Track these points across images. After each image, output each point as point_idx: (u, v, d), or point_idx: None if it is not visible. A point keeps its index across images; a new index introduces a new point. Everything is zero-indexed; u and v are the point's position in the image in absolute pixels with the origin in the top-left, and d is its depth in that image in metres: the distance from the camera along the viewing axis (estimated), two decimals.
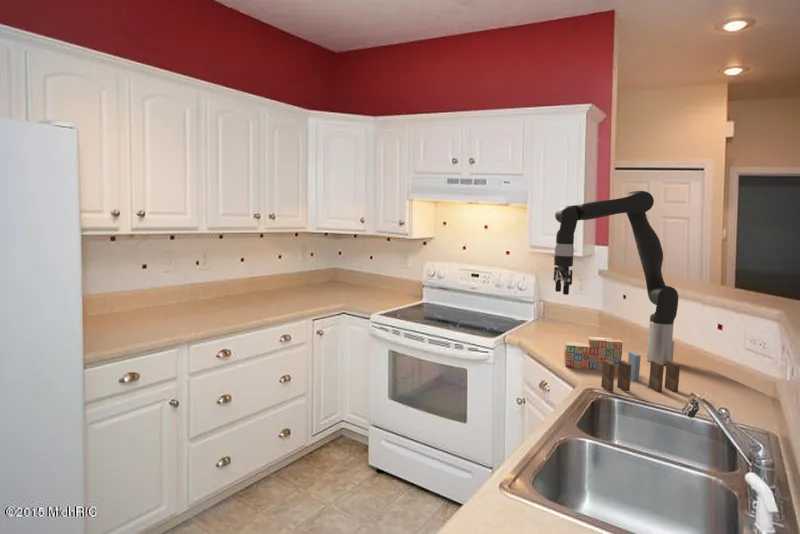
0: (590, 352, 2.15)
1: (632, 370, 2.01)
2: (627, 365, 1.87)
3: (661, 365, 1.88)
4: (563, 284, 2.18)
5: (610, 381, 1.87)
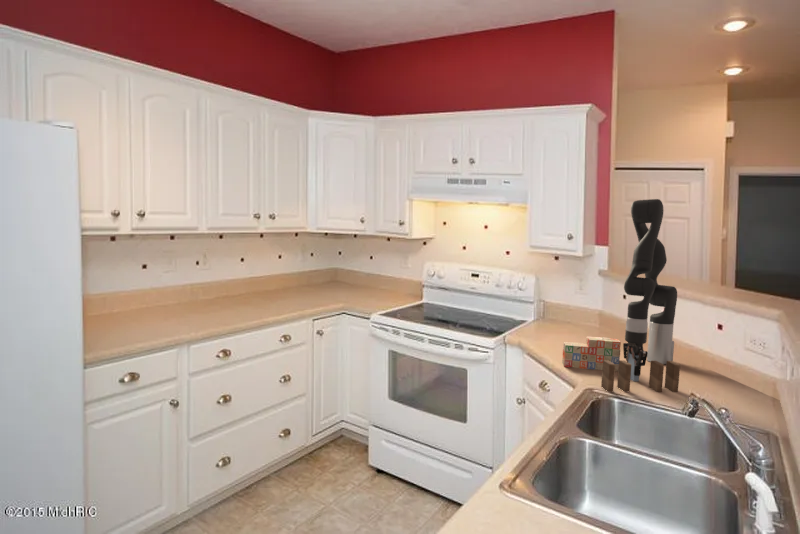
0: (589, 352, 2.15)
1: (632, 370, 2.01)
2: (627, 365, 1.87)
3: (661, 365, 1.88)
4: None
5: (610, 381, 1.87)
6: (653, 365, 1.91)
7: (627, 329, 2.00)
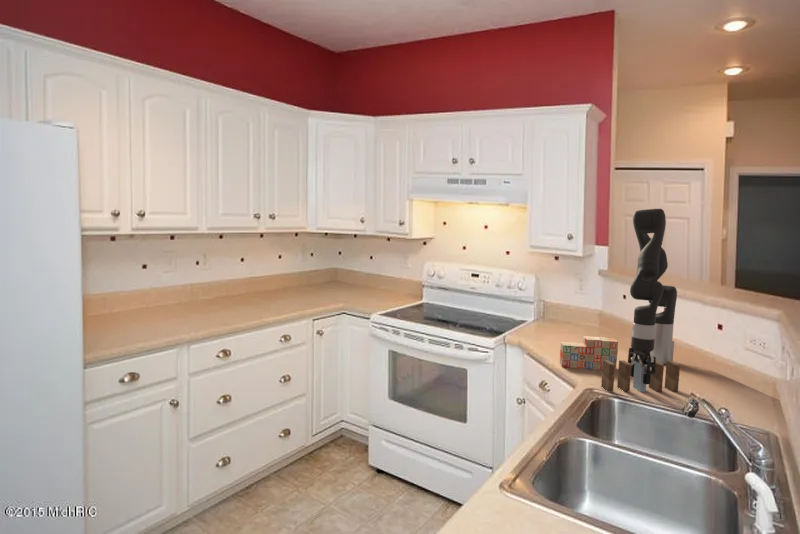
0: (586, 351, 2.15)
1: (638, 380, 1.89)
2: (627, 365, 1.87)
3: (661, 365, 1.88)
4: (644, 372, 1.85)
5: (610, 381, 1.87)
6: None
7: (633, 335, 1.88)
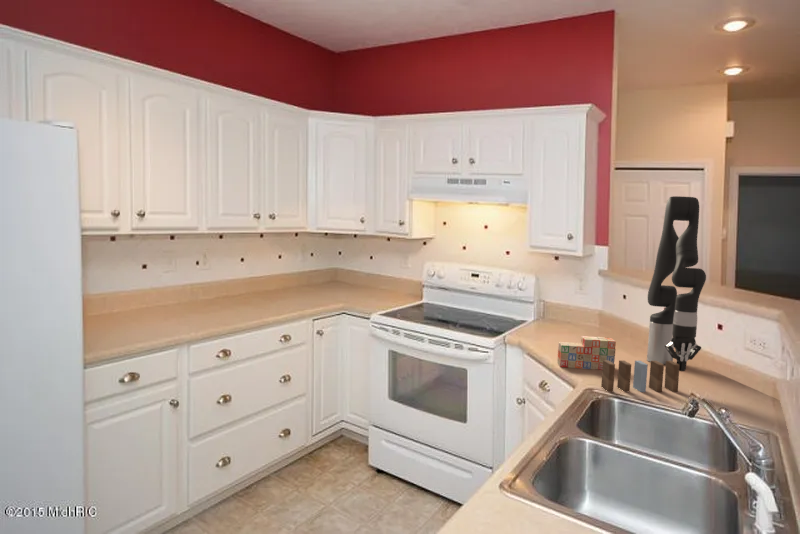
0: (584, 351, 2.15)
1: (638, 380, 1.89)
2: (627, 365, 1.87)
3: (661, 365, 1.88)
4: None
5: (610, 381, 1.87)
6: (653, 365, 1.91)
7: None
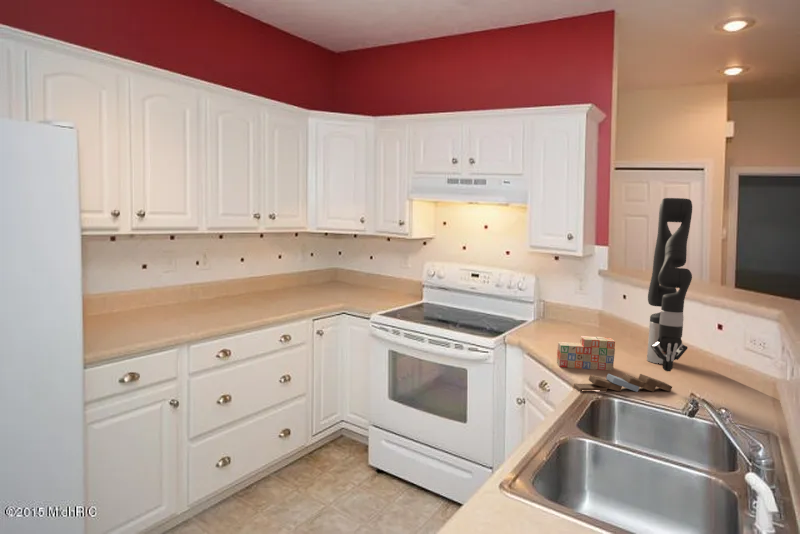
0: (584, 351, 2.15)
1: None
2: (595, 383, 1.87)
3: (630, 380, 1.87)
4: None
5: None
6: None
7: None
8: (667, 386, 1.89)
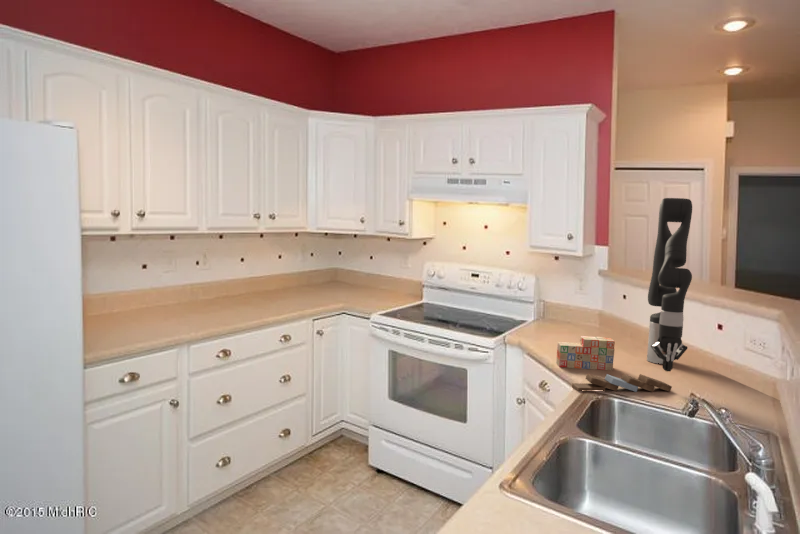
0: (583, 351, 2.15)
1: None
2: (591, 381, 1.88)
3: (629, 380, 1.87)
4: None
5: None
6: None
7: None
8: (667, 386, 1.89)
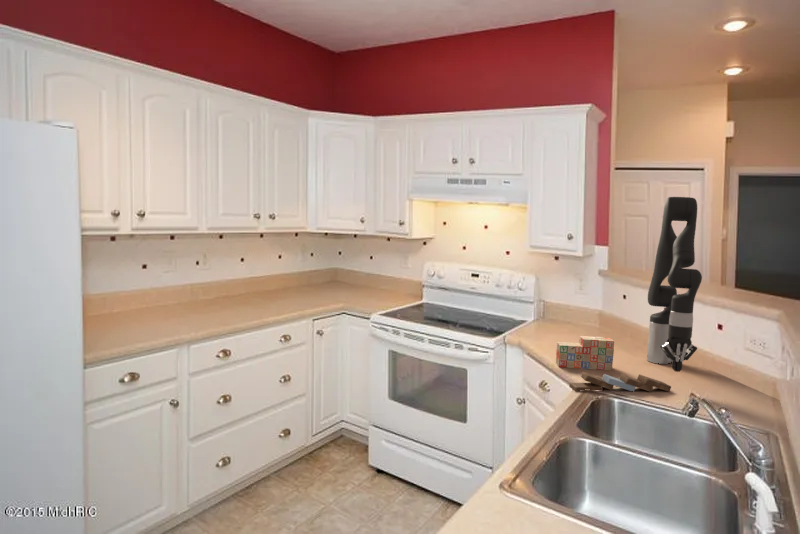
0: (583, 351, 2.15)
1: None
2: (586, 379, 1.89)
3: (627, 380, 1.87)
4: None
5: None
6: (624, 381, 1.90)
7: None
8: (666, 386, 1.89)
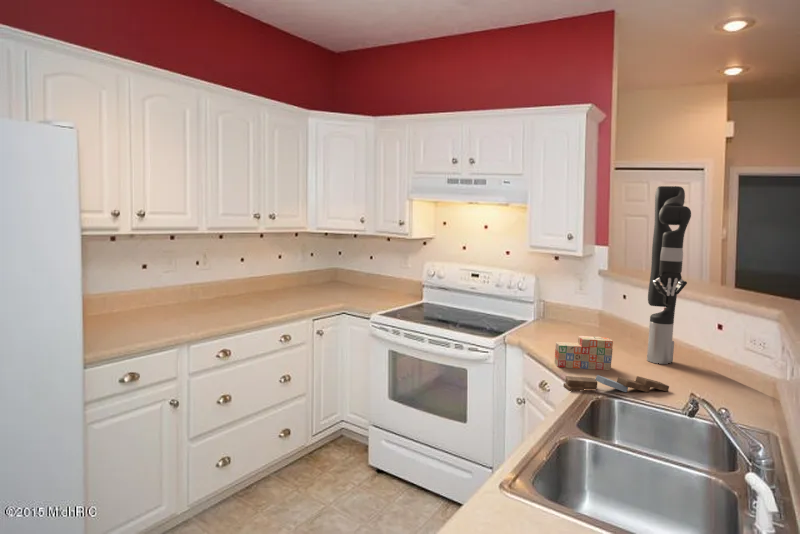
0: (582, 351, 2.15)
1: None
2: (569, 384, 1.89)
3: (627, 383, 1.85)
4: None
5: None
6: None
7: None
8: (664, 386, 1.89)
